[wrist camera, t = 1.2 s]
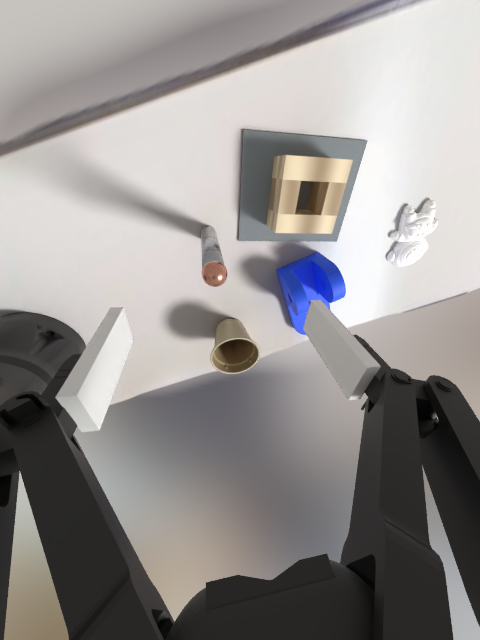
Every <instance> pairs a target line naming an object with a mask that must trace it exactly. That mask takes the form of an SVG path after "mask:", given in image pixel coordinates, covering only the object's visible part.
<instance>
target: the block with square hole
mask: <svg viewBox="0 0 480 640" xmlns="http://www.w3.org/2000/svg"><path fill="white" fill-rule="evenodd" d="M352 162H353V160H348V159H334V158H321V157H307V156H293V155H282V156H274V163H273V172H272V181H271V189H270V198H269V207H268V216H267V226H268V227H269V228H270V229H271V230H272V231H274V232H275V233H314V234H332V232H333V228H334V225H335V221H336V218H337V214H338V211H339V207H340V204H341V201H342V197H343V194H344V190H345V187H346V183H347V180H348V176H349V173H350V169H351V166H352ZM301 181H313V183H312V188H311V193H310V197H309V202H308V207H307V210H306V209H296V206H297V200H298V195H299V189H300V184H301Z"/></svg>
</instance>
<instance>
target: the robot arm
mask: <svg viewBox="0 0 480 640" xmlns="http://www.w3.org/2000/svg"><path fill="white" fill-rule="evenodd" d="M303 330H304V332H305V333H306V335H307V336H308V338H309V339H310V341H311V343H312V344H313V346H314V347H315V349H316V350H317V352H318V354H319V355H320V357H321V358H322V360H323V361H324V363H325V365H326V366H327V368H328V369H329V371H330V372H331V374H332V375H333V377H334V379H335V380H336V382H337V383H338V385H339V386H340V388H341V390H342V391H343V393H344V394H345V396H346V397H347V399H348V400H355V399H361V397H362V395H363V394H364V392H365V393H366V395H367V396H368V399H367V400H366V402H365V403H364V405H363V406H362V408H361V409H362V410H363V409H364V408H365V414H364V421H363V430H362V438H361V444H360V452H359V460H358V467H357V475H356V483H355V490H354V498H353V506H352V514H351V522H350V529H349V534H348V537H347V539H346V541H345V544H344V547H343V551H342V555H341V562H340V563H337V562H335V561H332V560H329V558H328V555H327V554H323V555H319V556H315V557H311V558H307V559H302V560H299V561H298V562H296V563H295V564H294V565H292V566H291V567H289V568H288V569H287V570H285V571H284V572H282V573H281V574H280V575H278V576H277V577H276V578H274V579H273V580H264V579H258V578H252V577H246V576H240V575H236V576H232V577H227V578H223V579H219V580H215V581H211V582H207V583H206V588H204V589H203V590H201V591H200V592H199V593H197V594H196V595H195V596H194V597H193V598H192V599H191V600H190V601H189V603H188V604H187V605H186V606H185V607H184V609H183V610H182V612H181V613H180V615H179V616H178V618H177V619H176V621H175V622H174V620H173V618H172V616H171V615H170V613H169V611H168V609H167V607H166V605H165V604H164V601H163V599H162V598H161V596H160V594H159V592H158V591H157V589H156V588H155V586H154V585H153V583H152V582H151V580H150V579H149V577H148V575H147V573H146V571H145V570H144V568H143V566H142V564H141V562H140V560H139V558H138V556H137V554H136V552H135V550H134V549H133V547H132V545H131V543H130V541H129V539H128V537H127V535H126V533H125V531H124V529H123V527H122V526H121V524H120V522H119V520H118V518H117V516H116V514H115V512H114V511H113V508H112V506H111V505H110V503H109V501H108V499H107V497H106V495H105V493H104V491H103V489H102V487H101V486H100V484H99V482H98V480H97V478H96V476H95V474H94V472H93V470H92V468H91V466H90V464H89V463H88V461H87V459H86V457H85V455H84V453H83V451H82V449H81V447H80V445H79V443H78V442H77V440H76V438H75V436H74V435H73V434H74V432H75V430H76V427H78V428H79V429H80V431H81V432H90V431H98V430H100V427H101V425H102V422H103V420H104V417H105V414H106V412H107V409H108V406H109V404H110V401H111V398H112V396H113V393H114V390H115V388H116V385H117V382H118V380H119V377H120V374H121V372H122V369H123V366H124V363H125V361H126V358H127V355H128V353H129V350H130V347H131V345H132V342H133V336H132V333H131V330H130V327H129V324H128V321H127V318H126V314H125V311H124V308H123V307H122V308H110V310H109V311H108V313H107V315H106V316H105V318H104V319H103V321H102V323H101V324H100V326H99V327H98V329H97V331H96V332H95V334H94V336H93V337H92V339H91V340H90V342H89V344H88V345H87V347H86V345H85V343H84V341H83V339H82V338H81V337H80V336H79V334H78V333H77V332H75V331H74V330H73V329H72V328H70V327H69V326H67V325H66V324H64V323H62V322H60V321H58V320H56V319H53V318H50V317H47V316H44V315H39V314H33V313H14V314H9V315H6V316H3V317H1V318H0V640H4V630H5V619H6V609H7V597H8V587H9V576H10V566H11V555H12V544H13V534H14V524H15V513H16V502H17V492H18V481H19V471H20V472H21V475H22V479H23V482H24V486H25V489H26V492H27V495H28V499H29V502H30V506H31V508H32V512H33V515H34V519H35V522H36V526H37V529H38V533H39V536H40V539H41V543H42V546H43V549H44V553H45V555H46V559H47V563H48V566H49V569H50V573H51V576H52V579H53V583H54V586H55V589H56V593H57V596H58V600H59V603H60V606H61V610H62V613H63V616H64V620H65V623H66V626H67V630H68V635H69V640H453V633H452V625H451V617H450V609H449V601H448V593H447V585H446V577H445V571H444V567H443V563H442V561H441V559H440V557H439V555H438V554H437V553H436V552H435V551H434V550H432V548H431V545H430V542H429V535H428V524H427V513H426V502H425V492H424V481H423V471H422V465H423V468H424V471H425V474H426V476H427V479H428V482H429V485H430V488H431V491H432V494H433V497H434V500H435V503H436V506H437V508H438V511H439V514H440V517H441V520H442V523H443V526H444V529H445V532H446V534H447V537H448V540H449V543H450V546H451V549H452V552H453V555H454V558H455V561H456V564H457V566H458V569H459V572H460V575H461V578H462V581H463V584H464V587H465V590H466V592H467V595H468V598H469V601H470V603H471V606H472V608H473V611H474V614H475V616H476V619H477V621H478V624H479V626H480V422H479V420H478V418H477V417H476V415H475V414H474V412H473V410H472V409H471V407H470V406H469V404H468V403H467V401H466V399H465V398H464V396H463V395H462V393H461V392H460V390H459V389H458V387H457V386H456V385H455V384H453V383H452V382H451V381H449V380H448V379H445V378H443V377H440V376H434V375H433V376H430V377H429V378H428V379H427V380H426V381H421V380H415V379H412V378H411V377H410V376H409V375H407V374H406V373H405V372H402V371H400V370H398V369H391V368H390V367H389V366H388V364H386V362H385V361H384V360H383V359H382V358H381V357H380V356H379V355H378V354H377V353H376V352H375V351H374V350H373V349H372V348H371V347H370V346H369V344H368V343H367V342H366V341H365V340H364V339H362V338H361V337H359V336H357V335H352V334H351V333H350V332H349V331H348V329H347V328H346V327H345V326H344V325H343V324H342V323H341V322H340V321H339V319H338V318H337V317H336V316H335V315H334V314H333V313H332V312H331V311H330V310H329V308H328V307H327V306H326V305H325V304H324V303H323V302H322V301H321V300H311V303H310V306H309V310H308V313H307V317H306V320H305V324H304V327H303ZM436 417H438V420H439V421H438V420H437V418H436Z"/></svg>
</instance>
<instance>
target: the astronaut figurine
mask: <svg viewBox="0 0 480 640" xmlns="http://www.w3.org/2000/svg"><path fill="white" fill-rule="evenodd" d="M435 206H436V205H435V202H434V200H428V201H426V202H425V204H424V205H423V207H422V209H421V211H420V212H419V213H416V212H414V208H413V206H411V205H407V206H406V207H405V208H404V210H403V213H402V215H401V219H400V223H399V228H398V231H395V232H393V233H391V234H390V238H391V239H393V240H395V241H398V243H397V244H396V246H395V247H394V249H393V251H390V252H389V254H388V256H387V260H388V261H389V262H391V263H392V264H393V265H395V266H400V267H403V266H408V265H411V264H413V263H414V262H416V261H417V260H419V259H420V258H421V257H422V255H423V254H424V252H425V251H426V250H427V248H428V243H427V242H426V240H425V238H424V237H423V236H425V235H427V234H429V233H431V232H432V231H433V230H434V229H435V227H436V226H437V224H438V219H433V218H434V215H435V210H436V208H434V207H435Z"/></svg>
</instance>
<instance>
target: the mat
mask: <svg viewBox="0 0 480 640" xmlns="http://www.w3.org/2000/svg"><path fill="white" fill-rule="evenodd" d="M366 144H367V141H364V140H353V139H342V138H331V137H319V136H308V135H297V134H286V133H275V132H263V131H252V130H243V147H242V170H241V193H240V216H239V239H238V240H239V241H337V239H338V235H339V232H340V229H341V226H342V222H343V219H344V216H345V213H346V209H347V206H348V203H349V199H350V196H351V193H352V190H353V186H354V183H355V180H356V177H357V173H358V170H359V167H360V163H361V160H362V157H363V154H364V150H365V147H366ZM282 155H293V156H307V157H321V158H334V159H348V160H353V162H352V166H351V169H350V173H349V176H348V180H347V183H346V187H345V190H344V194H343V197H342V201H341V204H340V207H339V211H338V214H337V218H336V221H335V225H334V228H333V232H332V234H314V233H275V232H274V231H272V230H271V229H270V228H269V227H268V226H267V216H268V207H269V198H270V189H271V181H272V172H273V163H274V156H282ZM312 183H313V181H301V184H300V189H299V195H298V200H297V206H296V209H306V210H307V207H308V202H309V197H310V193H311V188H312Z"/></svg>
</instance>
